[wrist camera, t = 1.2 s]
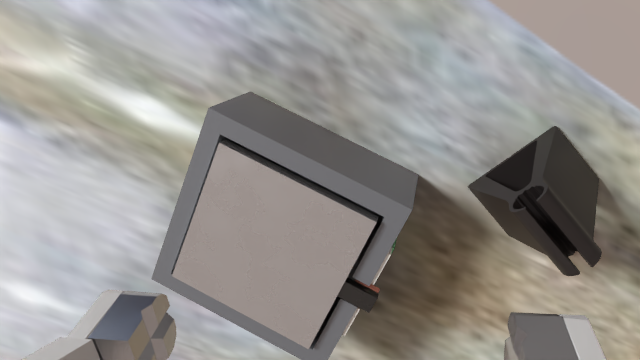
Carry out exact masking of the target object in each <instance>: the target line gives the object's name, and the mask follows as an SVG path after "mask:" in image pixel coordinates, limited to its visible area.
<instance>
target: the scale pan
mask: <svg viewBox="0 0 640 360" xmlns="http://www.w3.org/2000/svg"><path fill="white" fill-rule="evenodd" d="M378 217H379V216H377V215H375V214H373V213H371V212H369V211H367V210H365V209H363V208H361V207H359V206H357V205H355V204H353V203H351V202H349V201H347V200H345V199H343V198H341V197H339V196H337V195H335V194H333V193H331V192H329V191H327V190H325V189H323V188H321V187H319V186H317V185H315V184H313V183H311V182H309V181H307V180H305V179H303V178H301V177H299V176H297V175H295V174H293V173H291V172H289V171H287V170H286V169H284V168H282V167H280V166H278V165H276V164H274V163H272V162H270V161H268V160H266V159H264V158H262V157H260V156H258V155H256V154H254V153H252V152H250V151H248V150H246V149H244V148H242V147H240V146H238V145H236V144H234V143H232V142H230V141H228V140H226V139H225V140H223V141H221V142H220V143H219V145H218V147H217V150H216V153H215V156H214V159H213V161H212V164H211V167H210V170H209V173H208V176H207V178H206V181H205V184H204V187H203V190H202V193H201V195H200V198H199V201H198V204H197V207H196V209H195V212H194V215H193V218H192V221H191V224H190V226H189V229H188V232H187V235H186V238H185V240H184V243H183V246H182V249H181V252H180V255H179V257H178V260H177V263H176V266H175V269H174V272H173V274H172V276H173V277H174V278H176V279H178V280H180V281H182V282H184V283H186V284H187V285H189V286H191V287H193V288H195V289H197V290H199V291H201V292H202V293H204V294H206V295H208V296H210V297H212V298H214V299H216V300H217V301H219V302H221V303H223V304H225V305H227V306H229V307H230V308H232V309H234V310H236V311H238V312H240V313H242V314H244V315H245V316H247V317H249V318H251V319H253V320H255V321H257V322H258V323H260V324H262V325H264V326H266V327H268V328H270V329H272V330H273V331H275V332H277V333H279V334H281V335H283V336H285V337H287V338H288V339H290V340H292V341H294V342H296V343H298V344H300V345H301V346H303V347H305V348H307V349H309V347H310V346H311V344H312V342H313V340H314V338H315V336H316V334H317V333H318V331H319V329H320V327H321V325H322V323H323V321H324V320H325V318H326V316H327V314H328V312H329V310H330V308H331V307H332V305H333V303H334V301H335V299H336V297H337V296H338V297H340V298H342V299H344V300H346V301H348V302H350V303H351V304H353V305H355V306H357V307H359V308H361V309H363V310H365V311H367V312H370V310H371V308H372V307H373V305H374V303H375V301H376V300H377V297H378V293H377V292H375V291H373V290H371V289H369V288H367V287H365V286H363V285H361V284H360V283H358V282H356V281H354V280H352V279H350V278H348V275H349V273H350V271H351V269H352V267H353V266H354V264H355V262H356V260H357V258H358V256H359V254H360V253H361V251H362V249H363V247H364V245H365V243H366V241H367V239H368V238H369V236H370V234H371V232H372V230H373V228H374V226H375V225H376V223H377V220H378Z"/></svg>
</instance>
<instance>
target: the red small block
mask: <svg viewBox="0 0 640 360" xmlns="http://www.w3.org/2000/svg"><path fill="white" fill-rule="evenodd" d="M354 281H356V282H358V283H360V284H361V285H363V286H365V287H367V288H369V289H371V290H373V291H375V292H377V293H379V289H380V288H378V287H376V286H374V285H372V284H370V286H368V285H366V284H364V283H362V282H360V281H358V280H356V279H355V280H354Z"/></svg>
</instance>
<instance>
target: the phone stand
mask: <svg viewBox="0 0 640 360" xmlns="http://www.w3.org/2000/svg"><path fill="white" fill-rule="evenodd" d="M598 183H599V178H598V177H597V176H596V175H595V174H594V172H593V171H592V170H591V169H590V167H589V166H588V165H587V164H586V162H585V161H584V160H583V159H582V158H581V156H580V155H579V154H578V153H577V151H576V150H575V149H574V148H573V146H572V145H571V144H570V143H569V141H568V140H567V139H566V138H565V137H564V135H563V134H562V133H561V132H560V130H559V129H558V128H557V127H556V126H554V127H552V128H550V129H549V130H548V131H546V132H545V133H543V134H542V135H540V136H539V137H537V138H536V139H535V140H533V141H532V142H530V143H529V144H527V145H526V146H525V147H523V148H522V149H520V150H519V151H517V152H516V153H514V154H513V155H512V156H511V157H510V158H507V159H506V160H504V161H503V162H502V163H500V164H499V165H497V166H496V167H494V168H493V169H491V170H490V171H489V172H487V173H486V174H484V175H483V176H481V177H480V178H479V179H477V180H476V181H474V182H473V183H471V184H470V185H469V186H468V188H469V189H470V190H471V191H472V193H473V194H474V195H475V196H476V197H477V198H478V200H479V201H480V202H481V203H482V204H483V206H484V207H485V208H486V209H487V210H488V212H489V213H490V214H491V215H492V216H493V217H494V219H495V220H496V221H497V222H498V223H499V225H500V226H501V227H502V228H503V229H504V231H505V232H506V233H507V234H508V235H509V236H511V237H513V238H515V239H516V240H518V241H520V242H522V243H524V244H526V245H528V246H530V247H532V248H534V249H536V250H538V251H540V252H542V253H544V254H546V255H547V256H548V257H549V258H550V259H551V260H552V262H553V263H554V264H555V265H556V266H557V268H558V269H559V270H560V271H561V272H562V273H563V274H564V275H566V276H575V275H579V274H580V271H579V270H578V269H577V268H576V266H575V265H574V264H573V263H572V262H571V260H570V259H569V258H568V256H571V255H573V254H574V253H575V251H578V252H579V253H580V254H581V256H582V257H583V258H584V259H585V260H586V262H587V263H588V264H589V265H590V266H591V267H593V266H594V265H595V264H596V263H597V262H598V261H599V259H600V257H601V254H602V252H601V249H600V248H599V247H598V246H597V245H596V243H595V242H594V240H593V236H594V225H595V215H596V204H597V194H598Z"/></svg>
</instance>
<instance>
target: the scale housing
mask: <svg viewBox="0 0 640 360" xmlns="http://www.w3.org/2000/svg"><path fill="white" fill-rule="evenodd" d="M225 139H226V140H228V141H230V142H232V143H234V144H236V145H238V146H240V147H242V148H244V149H246V150H248V151H250V152H252V153H254V154H256V155H258V156H260V157H262V158H264V159H266V160H268V161H270V162H272V163H274V164H276V165H278V166H280V167H282V168H284V169H286V170H287V171H289V172H291V173H293V174H295V175H297V176H299V177H301V178H303V179H305V180H307V181H309V182H311V183H313V184H315V185H317V186H319V187H321V188H323V189H325V190H327V191H329V192H331V193H333V194H335V195H337V196H339V197H341V198H343V199H345V200H347V201H349V202H351V203H353V204H355V205H357V206H359V207H361V208H363V209H365V210H367V211H369V212H371V213H373V214H375V215H377V216H379V217H378V220H377V223H376V225H375V226H374V228H373V230H372V232H371V234H370V236H369V238H368V239H367V241H366V243H365V245H364V247H363V249H362V251H361V253H360V254H359V256H358V258H357V260H356V262H355V264H354V266H353V267H352V269H351V271H350V273H349V275H348V278H350V279H352V280H355V279H356V280H358V281H360V282H362V283H364V284H366V285H368V286H370V284H373V285H374V284H375V282H376V280H377V278H378V277H379V275H380V273H381V271H382V270H383V268H384V266H385V264H386V263H387V261H388V259H389V257H390V256H391V254H392V252H393V250H394V248H395V244H396V239H397V236H398V234H399V233H400V231H401V229H402V227H403V226H404V224H405V222H406V220H407V219H408V217H409V215H410V213H411V211H412V209H413V204H414V198H415V192H416V186H417V181H418V174H416V173H414V172H412V171H410V170H408V169H406V168H404V167H402V166H400V165H398V164H396V163H394V162H392V161H390V160H388V159H386V158H384V157H382V156H380V155H378V154H376V153H374V152H372V151H370V150H368V149H366V148H364V147H362V146H359V145H357V144H355V143H353V142H351V141H349V140H347V139H345V138H343V137H341V136H339V135H337V134H335V133H333V132H331V131H329V130H327V129H325V128H323V127H321V126H319V125H317V124H315V123H313V122H311V121H309V120H307V119H305V118H303V117H301V116H299V115H297V114H295V113H293V112H291V111H288V110H286V109H284V108H282V107H280V106H278V105H276V104H274V103H272V102H270V101H268V100H266V99H264V98H262V97H260V96H258V95H256V94H254V93H252V92H248V93H246V94H243V95H241V96H238V97H235V98H233V99H230V100H228V101H225V102H223V103H220V104H217V105H215V106H212V107H210V108H208V111H207V114H206V117H205V120H204V123H203V126H202V129H201V132H200V135H199V138H198V141H197V144H196V147H195V150H194V153H193V156H192V159H191V162H190V165H189V168H188V171H187V174H186V177H185V180H184V183H183V186H182V189H181V192H180V195H179V198H178V201H177V204H176V207H175V210H174V213H173V216H172V219H171V222H170V225H169V228H168V231H167V234H166V237H165V240H164V243H163V246H162V249H161V252H160V255H159V258H158V261H157V264H156V267H155V270H154V273H153V276H152V279H153V280H154V281H156V282H158V283H160V284H162V285H164V286H166V287H167V288H169V289H171V290H173V291H175V292H177V293H179V294H180V295H182V296H184V297H186V298H188V299H190V300H192V301H193V302H195V303H197V304H199V305H201V306H203V307H205V308H206V309H208V310H210V311H212V312H214V313H216V314H218V315H219V316H221V317H223V318H225V319H227V320H229V321H231V322H233V323H234V324H236V325H238V326H240V327H242V328H244V329H246V330H247V331H249V332H251V333H253V334H255V335H257V336H259V337H260V338H262V339H264V340H266V341H268V342H270V343H272V344H273V345H275V346H277V347H279V348H281V349H283V350H285V351H286V352H288V353H290V354H292V355H294V356H296V357H298V358H299V359H301V360H328V358H329V357H330V355H331V353H332V351H333V349H334V348H335V346H336V344H337V342H338V341H339V339H340V337H341V335H343V336H345V335H346V333H347V331H348V329H349V328H350V326H351V324H352V322H353V321H354V319H355V317H356V315H357V314H358V312H359V310H360V308H359V307H357V306H355V305H353V304H351V303H350V302H348V301H346V300H344V299H342V298H340V297H338V296H337V297H336V299H335V301H334V303H333V305H332V307H331V308H330V310H329V312H328V314H327V316H326V318H325V320H324V321H323V323H322V325H321V327H320V329H319V331H318V333H317V334H316V336H315V338H314V340H313V342H312V344H311V346H310V347H309V349H307V348H305V347H303V346H301V345H300V344H298V343H296V342H294V341H292V340H290V339H288V338H287V337H285V336H283V335H281V334H279V333H277V332H275V331H273V330H272V329H270V328H268V327H266V326H264V325H262V324H260V323H258V322H257V321H255V320H253V319H251V318H249V317H247V316H245V315H244V314H242V313H240V312H238V311H236V310H234V309H232V308H230V307H229V306H227V305H225V304H223V303H221V302H219V301H217V300H216V299H214V298H212V297H210V296H208V295H206V294H204V293H202V292H201V291H199V290H197V289H195V288H193V287H191V286H189V285H187V284H186V283H184V282H182V281H180V280H178V279H176V278H174V277H173V276H172V274H173V272H174V269H175V266H176V263H177V260H178V257H179V255H180V252H181V249H182V246H183V243H184V240H185V238H186V235H187V232H188V229H189V226H190V224H191V221H192V218H193V215H194V212H195V209H196V207H197V204H198V201H199V198H200V195H201V193H202V190H203V187H204V184H205V181H206V178H207V176H208V173H209V170H210V167H211V164H212V161H213V159H214V156H215V153H216V150H217V147H218V145H219V143H220V142H221V141H223V140H225Z"/></svg>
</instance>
